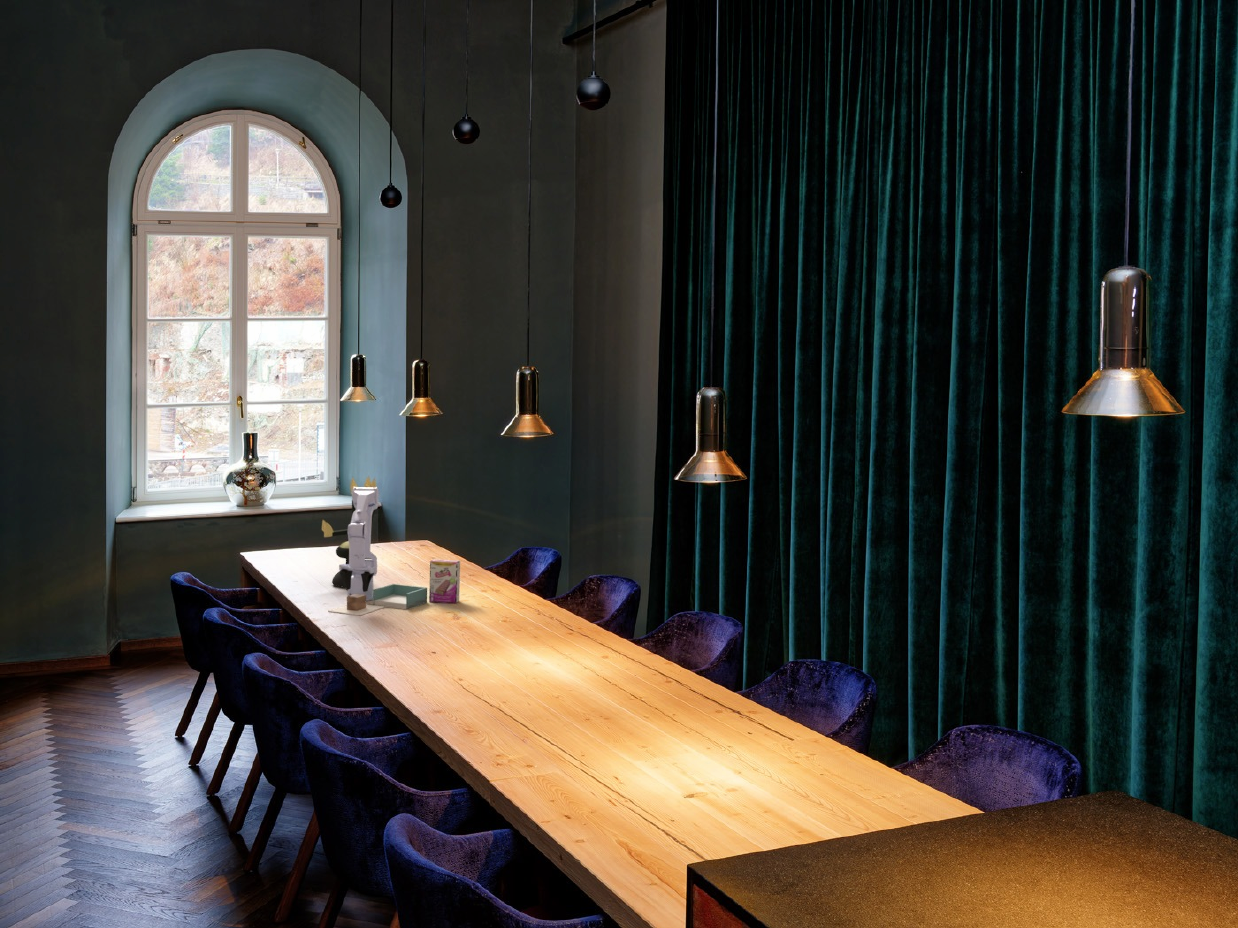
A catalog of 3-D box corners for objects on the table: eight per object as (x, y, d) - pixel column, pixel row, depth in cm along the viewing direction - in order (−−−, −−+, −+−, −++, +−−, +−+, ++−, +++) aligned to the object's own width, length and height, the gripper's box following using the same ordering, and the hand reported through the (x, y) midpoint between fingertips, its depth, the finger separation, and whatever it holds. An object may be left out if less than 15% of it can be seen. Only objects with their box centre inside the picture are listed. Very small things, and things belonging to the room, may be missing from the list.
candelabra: (319, 586, 491) (320, 477, 487) (351, 577, 512) (352, 473, 508) (358, 591, 484) (359, 480, 480) (388, 582, 505) (389, 476, 500)
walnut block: (346, 609, 447) (346, 596, 447) (355, 606, 453) (356, 593, 452) (357, 610, 446) (357, 597, 445) (366, 607, 451) (366, 594, 451)
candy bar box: (428, 602, 466) (429, 560, 465) (432, 599, 471) (432, 558, 470) (456, 603, 465) (457, 562, 464) (459, 601, 470) (460, 560, 469)
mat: (328, 611, 444) (328, 610, 444) (353, 603, 459) (353, 602, 459) (359, 615, 439) (359, 614, 439) (384, 607, 454) (384, 606, 454)
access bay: (373, 605, 458) (373, 589, 458) (392, 598, 471) (393, 583, 470) (408, 609, 452) (408, 593, 452) (427, 602, 465) (427, 587, 465)
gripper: (334, 554, 446) (334, 590, 448) (367, 557, 441) (366, 594, 442) (345, 551, 453) (345, 586, 454) (377, 555, 447) (377, 590, 449)
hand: (356, 590), depth 449 cm, fingers open, 7 cm apart
